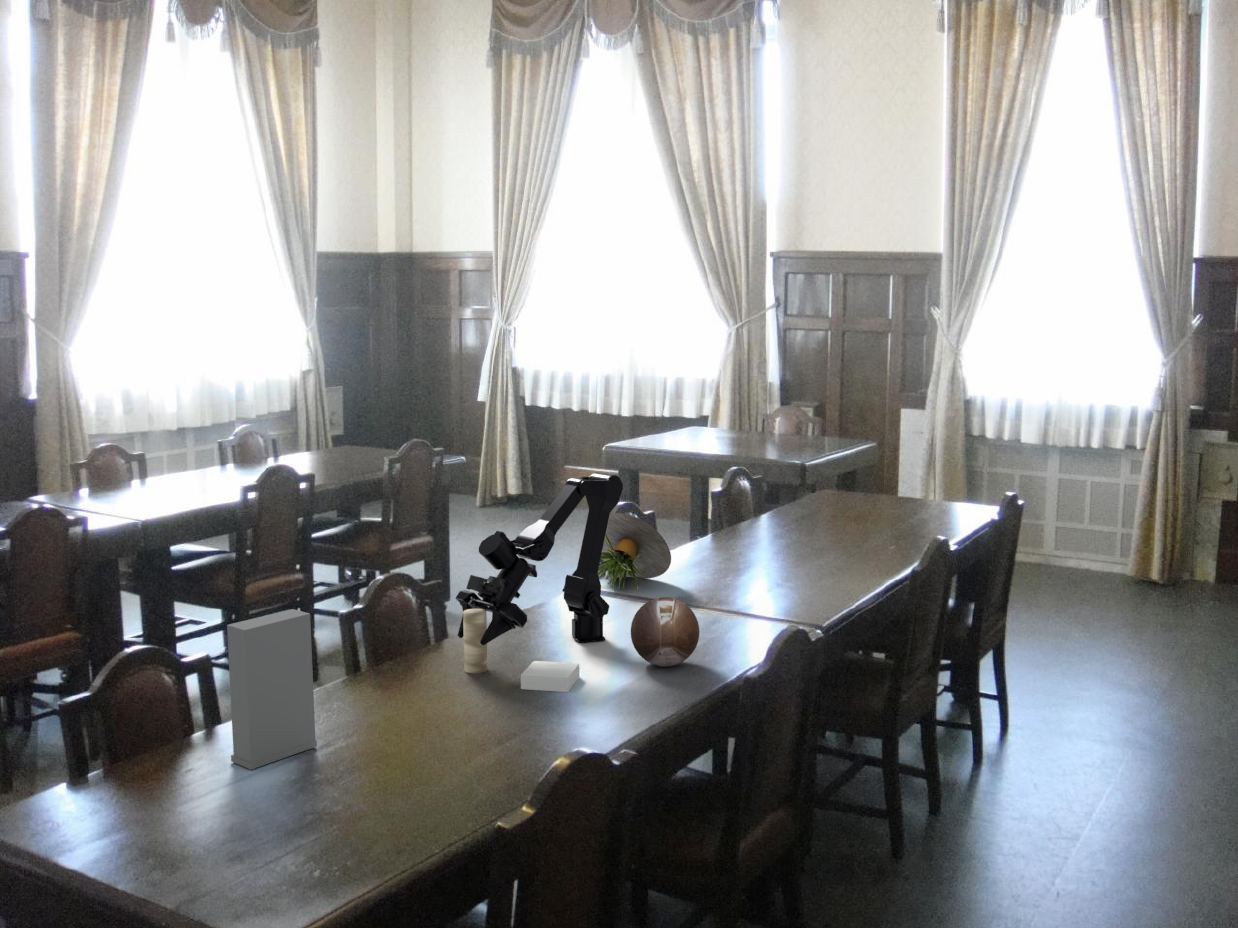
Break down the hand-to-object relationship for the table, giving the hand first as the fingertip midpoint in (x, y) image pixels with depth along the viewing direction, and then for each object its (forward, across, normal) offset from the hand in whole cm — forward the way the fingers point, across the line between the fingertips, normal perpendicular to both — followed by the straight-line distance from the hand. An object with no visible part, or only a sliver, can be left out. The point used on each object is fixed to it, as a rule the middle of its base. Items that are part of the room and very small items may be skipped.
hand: (470, 640), depth 267 cm
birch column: (+4, 0, +6) cm, 7 cm away
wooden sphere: (-18, +27, +28) cm, 43 cm away
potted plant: (-50, -31, +60) cm, 84 cm away
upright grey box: (+44, +13, -34) cm, 57 cm away
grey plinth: (0, +18, +10) cm, 21 cm away
